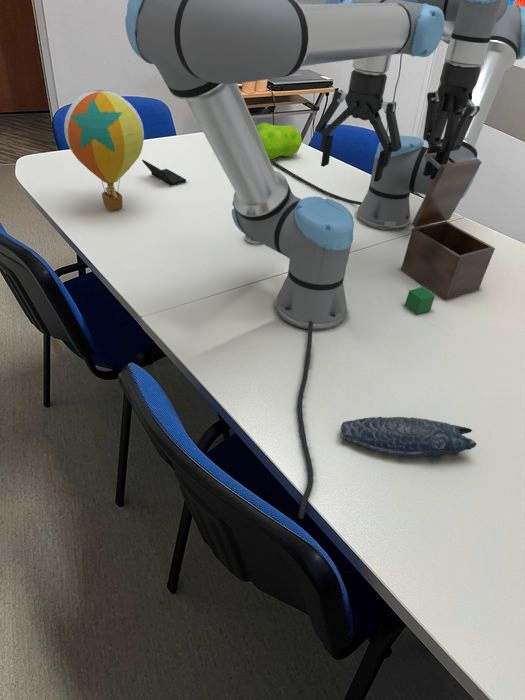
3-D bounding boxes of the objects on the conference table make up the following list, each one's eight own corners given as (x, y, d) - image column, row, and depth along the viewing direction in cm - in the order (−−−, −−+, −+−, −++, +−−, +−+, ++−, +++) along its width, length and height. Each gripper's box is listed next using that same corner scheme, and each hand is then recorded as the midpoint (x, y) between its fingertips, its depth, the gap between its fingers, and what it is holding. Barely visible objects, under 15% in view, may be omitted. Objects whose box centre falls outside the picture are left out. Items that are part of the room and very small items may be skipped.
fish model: (474, 470, 81) (484, 449, 78) (339, 453, 82) (344, 431, 79) (465, 439, 86) (475, 417, 83) (339, 423, 87) (344, 401, 84)
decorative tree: (216, 119, 186) (297, 119, 192) (216, 149, 193) (294, 148, 198) (222, 134, 173) (309, 133, 178) (222, 165, 179) (306, 163, 185)
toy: (64, 203, 145) (44, 85, 127) (127, 189, 156) (117, 79, 137) (97, 229, 134) (80, 105, 116) (162, 213, 145) (156, 96, 126)
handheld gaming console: (190, 175, 164) (173, 153, 156) (179, 193, 163) (161, 172, 155) (166, 170, 170) (147, 148, 162) (155, 188, 169) (136, 167, 161)
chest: (478, 289, 125) (495, 248, 118) (444, 300, 120) (460, 257, 113) (433, 260, 135) (446, 221, 128) (400, 269, 130) (412, 228, 123)
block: (430, 310, 116) (435, 295, 114) (416, 314, 115) (421, 299, 112) (418, 301, 119) (422, 286, 116) (404, 305, 117) (409, 290, 115)
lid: (481, 162, 115) (457, 142, 119) (445, 167, 110) (420, 147, 114) (449, 220, 127) (427, 200, 131) (414, 227, 122) (393, 206, 126)
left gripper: (432, 80, 106) (406, 182, 119) (324, 59, 116) (311, 155, 129) (421, 85, 101) (395, 191, 114) (309, 62, 111) (296, 162, 124)
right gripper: (503, 70, 103) (466, 185, 118) (449, 56, 113) (421, 164, 128) (478, 72, 100) (443, 190, 115) (424, 56, 110) (398, 167, 124)
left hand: (350, 172), depth 122 cm, fingers open, 13 cm apart
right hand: (431, 176), depth 121 cm, fingers closed on lid, 2 cm apart
